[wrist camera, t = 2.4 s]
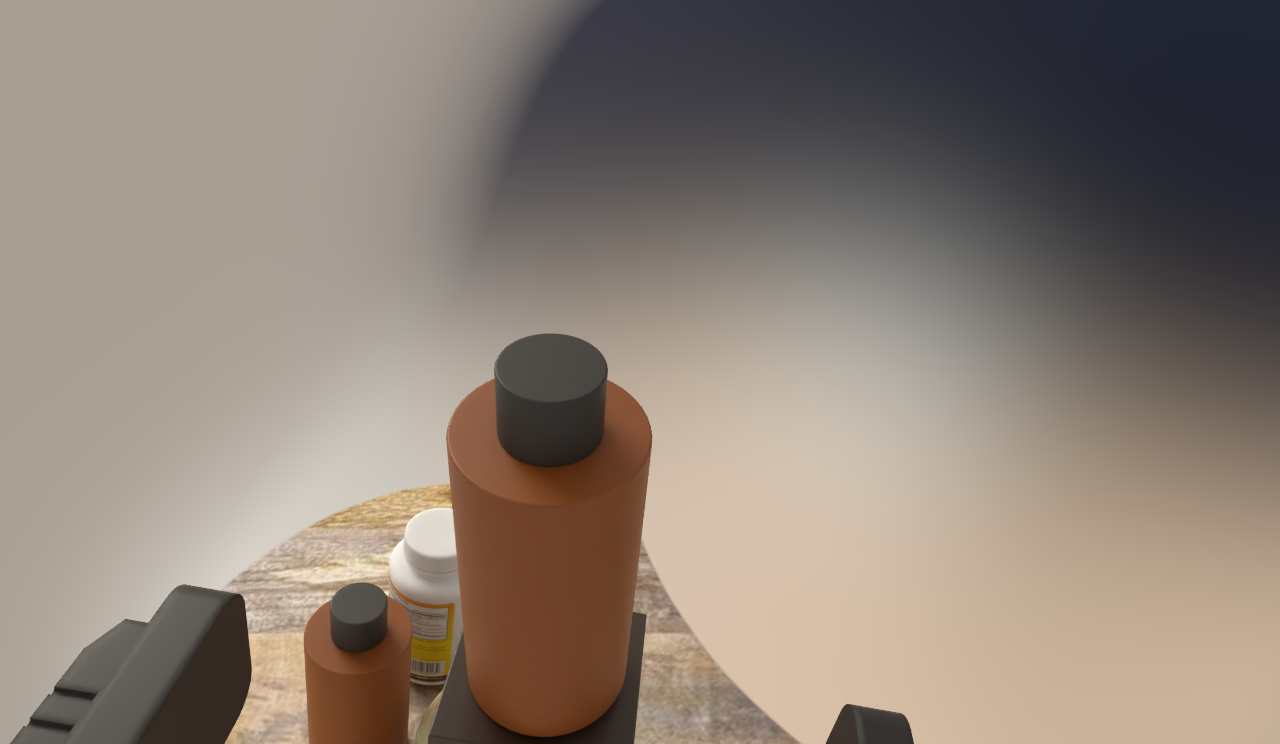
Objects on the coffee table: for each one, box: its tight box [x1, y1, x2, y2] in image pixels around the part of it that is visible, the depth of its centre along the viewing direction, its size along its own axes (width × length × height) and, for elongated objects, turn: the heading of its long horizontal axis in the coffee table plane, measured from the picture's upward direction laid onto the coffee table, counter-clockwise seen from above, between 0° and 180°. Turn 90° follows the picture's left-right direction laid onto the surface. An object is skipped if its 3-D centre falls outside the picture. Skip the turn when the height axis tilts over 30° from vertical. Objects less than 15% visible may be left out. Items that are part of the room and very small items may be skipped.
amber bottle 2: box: [446, 334, 652, 737], centre depth 24 cm, size 5×5×12 cm
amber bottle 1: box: [304, 583, 413, 744], centre depth 44 cm, size 5×5×12 cm
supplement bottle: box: [389, 508, 463, 685], centre depth 51 cm, size 6×6×10 cm
